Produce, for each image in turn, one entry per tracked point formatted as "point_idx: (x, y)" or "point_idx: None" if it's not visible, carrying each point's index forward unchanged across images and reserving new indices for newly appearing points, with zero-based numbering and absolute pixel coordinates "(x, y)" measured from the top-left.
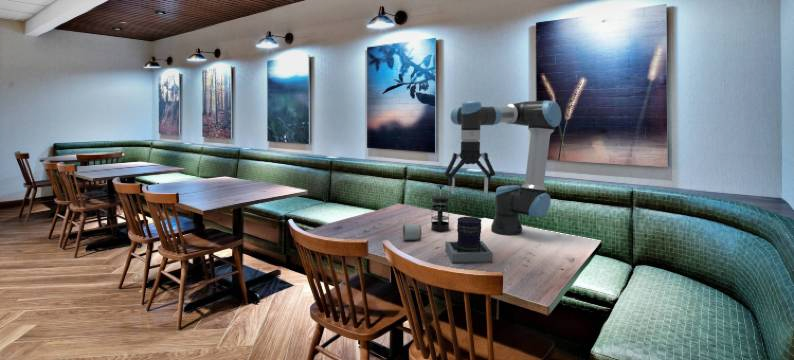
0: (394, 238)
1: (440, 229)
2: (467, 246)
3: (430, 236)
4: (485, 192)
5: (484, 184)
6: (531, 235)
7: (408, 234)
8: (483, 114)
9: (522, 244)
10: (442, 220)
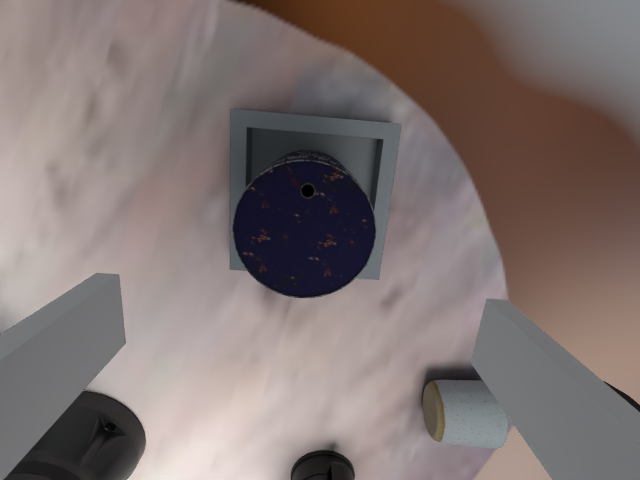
0: None
1: (329, 459)
2: (328, 156)
3: (377, 412)
4: (115, 294)
5: (60, 405)
6: None
7: (483, 387)
8: None
9: None
10: None
